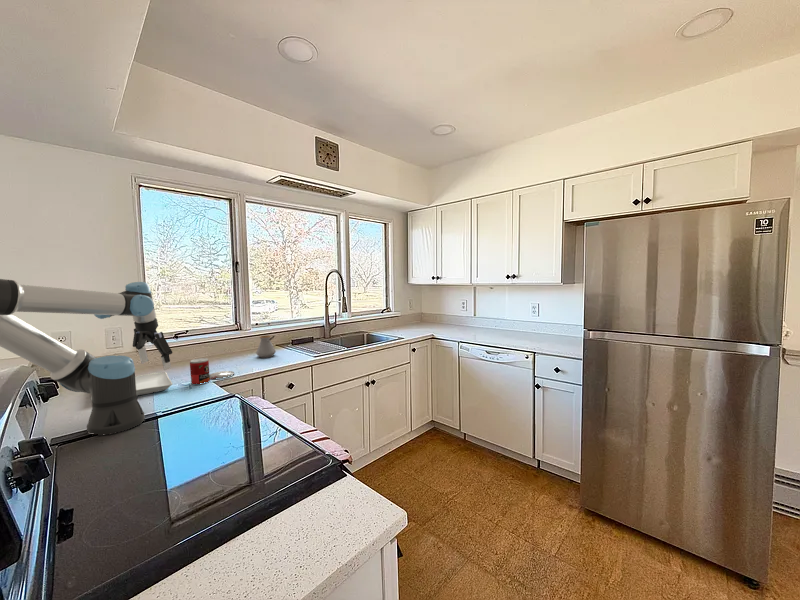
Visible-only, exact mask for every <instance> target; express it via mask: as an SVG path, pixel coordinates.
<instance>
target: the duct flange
mask: <svg viewBox="0 0 800 600" xmlns="http://www.w3.org/2000/svg"><path fill="white" fill-rule="evenodd" d="M233 374H234V375H235V372H234V371H233V370H223V371H216V372H213V373H209V375H210V380H217V379H216V378H223V377H228V376H231V375H233ZM234 375H233V376H234ZM231 377H232V376H231ZM228 378H229V377H228Z"/></svg>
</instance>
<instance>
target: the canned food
mask: <svg viewBox="0 0 800 600" xmlns="http://www.w3.org/2000/svg"><path fill="white" fill-rule="evenodd" d="M189 370H190V383H191V385H193V384H200V383H204V382H208V381H209V382H210V381H211V379H210V361H209V358H206V357H200V358H193V359H191V360H189ZM209 382H208V383H209ZM200 385H201V384H200Z"/></svg>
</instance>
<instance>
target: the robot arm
mask: <svg viewBox="0 0 800 600" xmlns="http://www.w3.org/2000/svg"><path fill="white" fill-rule="evenodd" d="M124 287H125V290H124V291H121V292H115V293H114V292H106V291H96V290H94V291H93V290H83V289H72V288H62V287H61V288H60V287H52V286H40V285H28V284H27V285H26V284H19V282H17V281H16V280H12V279H4V278H0V347H1V348H2V349H5V350H7V351H9V352H11V353H13V354H14V355H16V356H18V357H20V358H22V359H24V360H26V361H28V362H30V363H32V364H34V365H35V366H38V367H39V368H42V369H43V370H46V371H48V372H50V373H49V378H50V379H51V380H53V381H55V382H57V383H59V385H60V386H61V387H62V388H64V389H66V390H68V391H70V392H75V393H84V394H90V396H91V397H90V399H91V398H92V401H91V407H92V409H91V412H90V416H89V419H88V422H87V424H86V432H87V431H88V432H90V433H94V434H98V435H101V436H104V435H103V434H109V435H111V434H110V433H114V434H116V433H115V432H118V433H121V432H120V431H122V432H125V431H128V430H131V429H133V428H132V427H134V428H135V426H136V427H138V426H140V425H142V422H143V421H144V422H145V420H146V418H145V417H146V415H145V412H144V410H143V408H142V407H141V404H140V403H139V401H138V397H137V395H136V381H135V376H136V367H135V363H134V359H133V358H132V357H129V356H127V355H105V356H100V357H97V356H95V355H93V354H91V353H90V352H88V351H86V350H85V349H72V348H71V347H70V346H68V345H66V344H64V343H63V342H61V341H59V340H57V339H56V338H54V337H52V336H50V335H49V334H47V333H45V332H44V331H42V330H41V329H39V328H37V327H35V326H34V325H31V324H30V323H28V322H27V321H25V320H23V319H21V318H19V316H16V315H15V314H14V313H17V312H19V313H41V314H42V313H43V314H44V313H45V314H47V313H48V314H69V315H70V314H72V315H94V316H95V317H96V318H97V319H100V320H104V319H108V318H112V317H114V316H121V317H123V316H127V317H132V320H133V323H134V328H133V333H134V334H133V340H132V347H133V348H135V349H136V350H137V353H138V356H139V360H140V364H145V363H147V362H149V357H148V353H147V349H146V343H147V342H150V344H151V345H153V346H154V347H155V349H156V350H157V351H158V352H159V353H160V355H161V356H160V359H161V363H162V366H163V370H164V371H167V370H169V369H171V368H172V365H171V357H170V355H172V354H173V353H174V352H173V350H172V348H171V347H170V345H169V344H168V342H167V340H166V338H165V336H164V333H163V331H160V332H158V331H157V329H158V327H159V323H158V318H157V315H156V314H157V313H156V310H155V309H156V308H155V303H154V299H153V296H152V295H153V294H152V291H151V288H150V285H149V283H148V282H146V281H135V282H130V283H128V284H126V285H125V286H124ZM144 419H145V420H144ZM144 422H143V423H144ZM139 424H140V425H139ZM137 425H138V426H137ZM130 428H131V429H130ZM127 429H128V430H127ZM124 430H125V431H124Z"/></svg>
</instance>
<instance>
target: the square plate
mask: <svg viewBox="0 0 800 600" xmlns="http://www.w3.org/2000/svg"><path fill="white" fill-rule="evenodd" d="M135 381H136V395H137V396H138V395H139V396H143V395H148V394H153V392H154V393H157V392H163V391H166V390H167V389H169V388H170V387H172V385H173V382H172V380H171V378H169V375H168V373H167V372H166V371H162V372H154V373H147V374H146V373H145V374H141V375H135ZM90 401H91V402H92V398H91V397H90Z"/></svg>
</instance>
